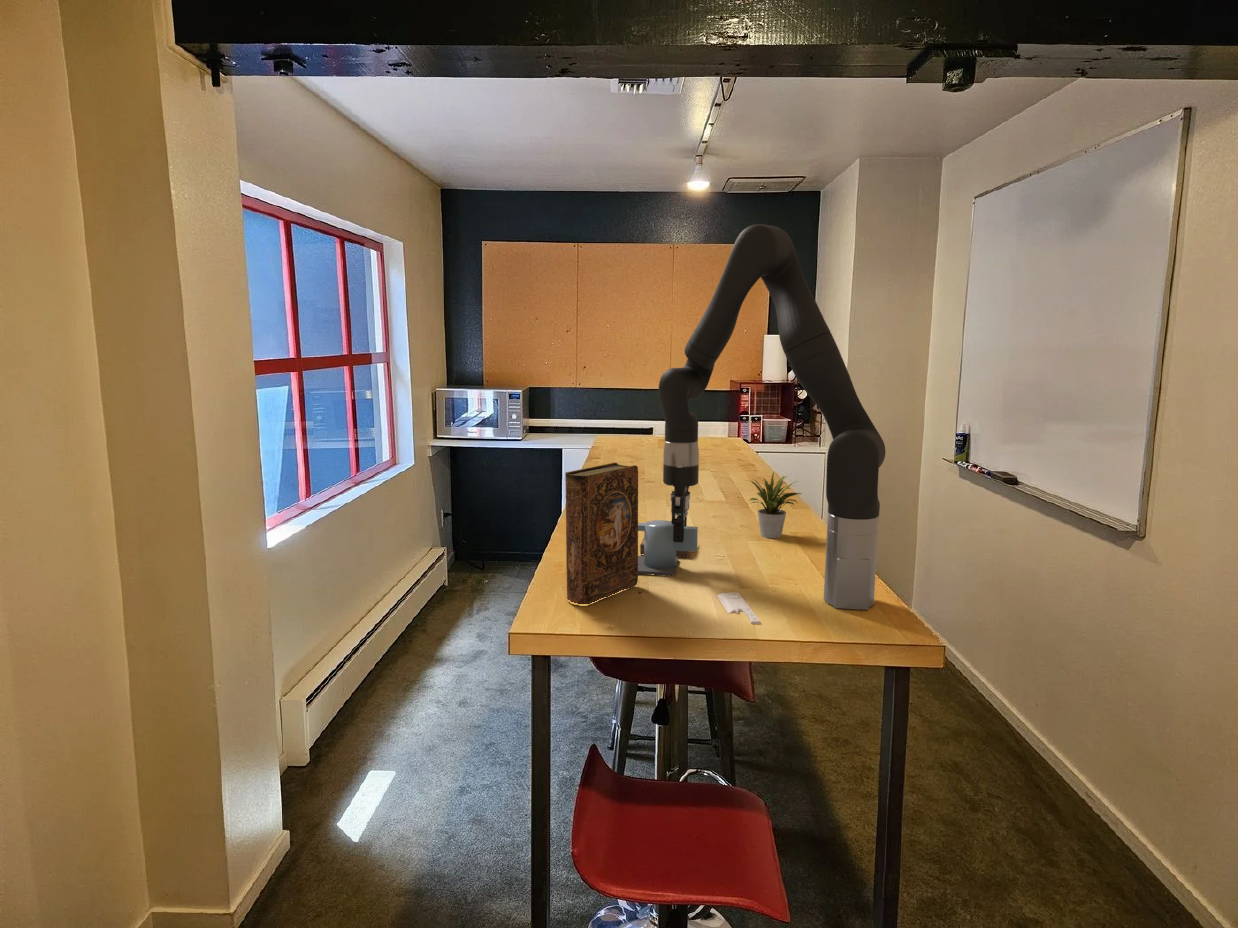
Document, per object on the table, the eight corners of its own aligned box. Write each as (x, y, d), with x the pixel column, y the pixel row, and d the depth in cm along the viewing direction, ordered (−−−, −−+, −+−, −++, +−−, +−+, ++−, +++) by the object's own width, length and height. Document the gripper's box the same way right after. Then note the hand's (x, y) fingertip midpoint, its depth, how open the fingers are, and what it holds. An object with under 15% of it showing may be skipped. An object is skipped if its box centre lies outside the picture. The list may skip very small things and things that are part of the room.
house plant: (753, 545, 182) (755, 479, 179) (730, 531, 195) (731, 469, 192) (806, 541, 186) (809, 476, 183) (780, 527, 199) (782, 466, 196)
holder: (687, 557, 173) (688, 546, 172) (640, 555, 174) (640, 544, 174) (691, 544, 183) (691, 534, 183) (646, 542, 185) (646, 532, 185)
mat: (673, 576, 159) (673, 572, 159) (622, 573, 161) (622, 569, 161) (678, 560, 170) (678, 557, 170) (629, 558, 172) (629, 555, 172)
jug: (636, 567, 162) (636, 527, 161) (640, 558, 169) (640, 519, 168) (695, 570, 160) (696, 529, 159) (697, 561, 167) (698, 521, 166)
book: (583, 608, 141) (582, 476, 137) (562, 601, 144) (560, 473, 140) (638, 585, 153) (638, 464, 149) (617, 580, 157) (617, 461, 153)
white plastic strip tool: (732, 627, 133) (732, 621, 133) (713, 598, 148) (713, 592, 148) (760, 625, 134) (760, 619, 133) (739, 596, 148) (739, 591, 148)
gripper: (666, 456, 168) (666, 528, 171) (659, 467, 154) (658, 545, 157) (700, 457, 167) (699, 529, 170) (696, 468, 153) (695, 547, 156)
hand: (679, 537), depth 163 cm, fingers open, 7 cm apart
